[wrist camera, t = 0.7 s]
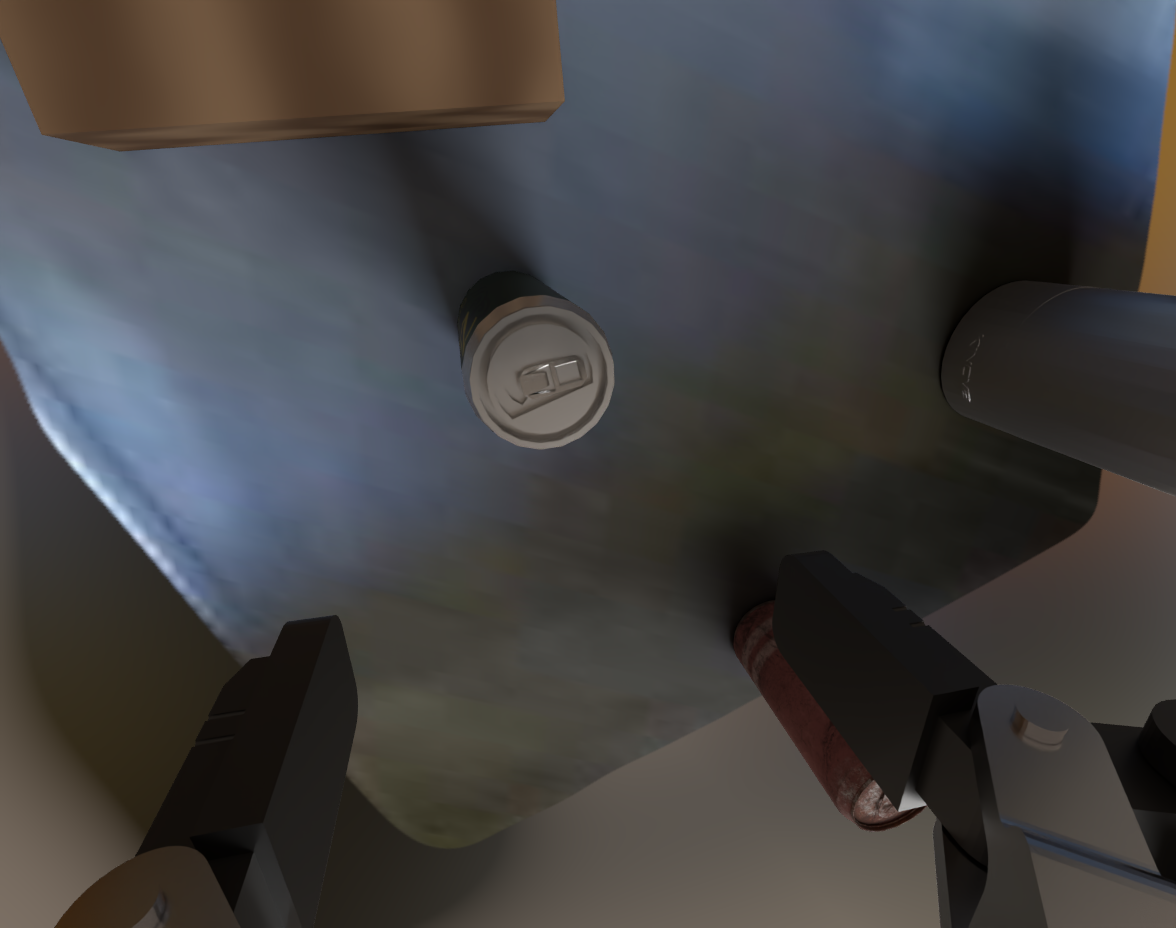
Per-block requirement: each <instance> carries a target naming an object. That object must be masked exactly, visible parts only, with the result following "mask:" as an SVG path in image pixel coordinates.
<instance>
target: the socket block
mask: <svg viewBox="0 0 1176 928" xmlns="http://www.w3.org/2000/svg"><path fill="white" fill-rule="evenodd" d="M0 38H1V40H2V43H3V45H4V47H5V50H6V52H7V54H8V57H9V59H10V61H11V64H12V66H13V69H14V71H15V73H16V76H17V78H18V80H19V83H20V85H21V87H22V90H23V92H24V94H25V97H26V99H27V101H28V104H29V106H30V108H31V111H32V113H33V115H34V118H35V120H36V122H37V125H38V127H39V129H40V132H41V134H42V135H46V136H51V137H55V138H60V139H65V140H69V141H74V142H79V143H83V144H88V145H93V146H97V147H102V148H107V149H111V150H116V151H132V150H146V149H160V148H175V147H189V146H203V145H218V144H232V143H246V142H261V141H275V140H289V139H304V138H318V137H332V136H347V135H361V134H375V133H390V132H404V131H418V130H433V129H447V128H461V127H476V126H490V125H504V124H519V123H533V122H545V121H546V120H547V119H548V118H549V117H550V116H551V115H552V114H553V113H554V112H555V111H556V110H557V109H558V108H559V107H560V106H561V105H562V103H563V102H564V101H565V99H564V88H563V76H562V65H561V54H560V43H559V32H558V21H557V10H556V0H0Z"/></svg>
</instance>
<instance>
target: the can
mask: <svg viewBox="0 0 1176 928" xmlns="http://www.w3.org/2000/svg"><path fill="white" fill-rule="evenodd" d="M774 604H775V600H772V601H767V602H764V603H761V604H759V605H757V606H755V607H754V608H752V609H751V610H750V611H749V612H747V613H746V614H745V615H744V617H743V618H742V619H741V620H740V622H739V623H738V626H737V628H736V630H735V635H734V650H735V653H736V656H737V658H738V659H739V661H740V662H741V664H742V665H743V667H744V668H745V670H746V671H747V673H748V674H749V676H750V677H751V679H752V680H753V682H754V683H755V685H756V686H757V688H758V689H759V691H760V692H761V694H762V695H763V697H764V698H765V700H766V701H767V703H768V704H769V706H770V708H771V709H772V710H773V712H774V713H775V715H776V717H777V718H778V720H779V721H780V723H781V724H782V726H783V727H784V729H785V730H786V732H787V733H788V735H789V736H790V738H791V739H792V741H793V742H794V743H795V745H796V747H797V748H798V750H799V751H800V753H801V754H802V756H803V757H804V759H805V760H806V762H807V763H808V765H809V766H810V768H811V770H812V771H813V772H814V774H815V776H816V777H817V779H818V780H819V782H820V783H821V784H822V786H823V788H824V789H825V791H826V792H827V794H828V795H829V796H830V798H831V800H832V801H833V803H834V804H835V806H836V807H837V809H838V810H839V812H840V813H842V814H843V815H844V816H845V817H846V818H847V819H849V820H851V821H852V822H854V823H855V824H856V825H857V826H859V828H860V829H862V830H866V831H870V832H876V831H885V830H888V829H892V828H895V827H898V826H900V825H902V824H904V823H906V822H908V821H910V820H911V819H912V818H914V817H915V816H916V815H917V814H919V813H921V812H922V811H923V810H924V809H925V808H926V807H927V805H926V806H922V807H917V808H913V809H909V810H905V811H900V812H898V811H897V810H896V809H895V807H894V806H893V805H892V803H891V802H890V801H889V799H888V798H887V796H886V795H885V794H884V792H883V791H882V790H881V788H880V787H879V786H878V784H877V783H876V782H875V780H874V779H873V778H872V776H871V775H870V773H869V772H868V771H867V769H866V768H865V767H864V765H863V764H862V763H861V761H860V760H859V759H858V757H857V756H856V755H855V753H854V752H853V751H852V749H851V748H850V746H849V745H848V744H847V742H846V741H845V740H844V738H843V737H842V736H841V734H840V733H839V732H838V730H837V729H836V728H835V726H834V725H833V724H832V722H831V721H830V719H829V718H828V717H827V715H826V714H825V713H824V711H823V710H822V709H821V707H820V706H819V705H818V703H817V702H816V701H815V699H814V698H813V696H812V695H811V694H810V692H809V691H808V690H807V688H806V687H805V686H804V684H803V683H802V682H801V680H800V679H799V678H798V676H797V675H796V674H795V672H794V671H793V669H792V668H791V667H790V665H789V664H788V663H787V661H786V660H785V659H784V657H783V656H782V654H781V653H780V651H779V649H778V647H777V645H776V642H775V639H774V635H773V629H772V618H773V611H774Z"/></svg>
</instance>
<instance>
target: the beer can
mask: <svg viewBox="0 0 1176 928" xmlns="http://www.w3.org/2000/svg"><path fill="white" fill-rule="evenodd" d="M457 323H458V334H459V346H460V358H461V370H462V377H463V383H464V389H465V395H466V397H467V399H468V401H469V403H470V405H471V407H472V408H473V410H474V412H475V414H476V416H477V417H478V418H479V419H480V420H481V421H482V422H483V423H484V424H485V425H486V426H487V427H488V428H490V429H491V430H492V431H493V432H495V433H496V434H497V435H498V436H499V437H501V438H503V439H505V440H507V441H509V442H511V443H513V444H515V445H517V446H522V447H528V448H534V449H546V448H553V447H560V446H563V445H565V444H567V443H569V442H572V441H574V440H576V439H578V438H580V437H582V436H583V435H584V434H585V433H586V432H587V431H589V430H590V429H591V428H592V427H593V426H594V425H595V424H597V422H598V421H599V419H600V418H601V416H602V415H603V413H604V411H605V410H606V408H607V407H608V405H609V402H610V398H611V394H612V391H613V387H614V363H613V359H612V352H611V349H610V347H609V344H608V341H607V339H606V336H605V333H604V331H603V330H602V329H601V328H600V326H599V325H598V324H597V323H596V321H595V320H594V319H593V318H592V317H591V315H590V314H589V313H587V312H586V311H584V310H583V309H581V308H580V307H578V306H577V305H575V304H574V303H572V302H571V301H569V300H568V299H566V298H565V297H563V296H562V295H560V294H559V293H557V292H556V291H554V290H552V289H551V288H549V287H548V286H546V285H545V284H543V283H542V282H540V281H539V280H537V279H535V278H534V277H532V276H531V275H528V274H524V273H520V272H516V271H504V272H495V273H493V274H491V275H489V276H486V277H484V278H482V279H480V280H479V281H478V282H477V283H476V284H475V285H474V286H473V287H472V288H471V289H469V290H468V292H467V294H466V296H465V298H464V300H463V301H462V303H461V305H460V310H459V316H458V322H457Z"/></svg>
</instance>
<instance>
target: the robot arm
mask: <svg viewBox="0 0 1176 928" xmlns="http://www.w3.org/2000/svg"><path fill="white" fill-rule="evenodd" d="M941 380H942V389H943V392H944V395H945V397H946V400H947V402H948V403H949V404H950V406H951V407H952V408H953V409H954V410H955V411H957V412H958V413H959V414H961V415H963V416H965V417H968V418H971V419H973V420H976V421H978V422H981V423H984V424H986V425H989V426H992V427H994V428H997V429H999V430H1002V431H1005V432H1007V433H1010V434H1012V435H1015V436H1017V437H1020V438H1022V439H1025V440H1028V441H1030V442H1033V443H1035V444H1038V445H1041V446H1043V447H1046V448H1049V449H1051V450H1054V451H1057V452H1059V453H1062V454H1065V455H1067V456H1070V457H1073V458H1075V459H1078V460H1080V461H1083V462H1086V463H1088V464H1091V465H1094V466H1096V467H1099V468H1102V469H1104V470H1107V471H1110V472H1112V473H1115V474H1117V475H1120V476H1123V477H1125V478H1128V479H1131V480H1133V481H1136V482H1139V483H1141V484H1144V485H1147V486H1149V487H1152V488H1155V489H1157V490H1160V491H1162V492H1165V493H1168V494H1170V495H1173V496H1176V296H1172V295H1162V294H1152V293H1143V292H1133V291H1123V290H1114V289H1104V288H1095V287H1087V286H1077V285H1067V284H1057V283H1046V282H1036V281H1026V280H1024V281H1016V282H1011V283H1008V284H1005V285H1003V286H1000V287H998V288H996V289H995V290H993V291H991V292H990V293H988V294H986V295H985V296H984V297H983V298H981V299H980V300H979V301H978V302H977V303H976V304H974V305H973V306H972V307H971V309H970V310H969V311H968V312H967V313H966V314H965V316H964V317H963V318H962V319H961V321H960V322H959V324H958V326H957V327H956V329H955V330H954V332H953V334H952V336H951V338H950V341H949V343H948V345H947V347H946V351H945V354H944V358H943V362H942V372H941ZM772 629H773V635H774V639H775V642H776V645H777V647H778V649H779V651H780V653H781V654H782V656H783V657H784V659H785V660H786V661H787V663H788V664H789V665H790V667H791V668H792V669H793V671H794V672H795V674H796V675H797V676H798V678H799V679H800V680H801V682H802V683H803V684H804V686H805V687H806V688H807V690H808V691H809V692H810V694H811V695H812V696H813V698H814V699H815V701H816V702H817V703H818V705H819V706H820V707H821V709H822V710H823V711H824V713H825V714H826V715H827V717H828V718H829V719H830V721H831V722H832V724H833V725H834V726H835V728H836V729H837V730H838V732H839V733H840V734H841V736H842V737H843V738H844V740H845V741H846V742H847V744H848V745H849V746H850V748H851V749H852V751H853V752H854V753H855V755H856V756H857V757H858V759H859V760H860V761H861V763H862V764H863V765H864V767H865V768H866V769H867V771H868V772H869V773H870V775H871V776H872V778H873V779H874V780H875V782H876V783H877V784H878V786H879V787H880V788H881V790H882V791H883V792H884V794H885V795H886V796H887V798H888V799H889V801H890V802H891V803H892V805H893V806H894V807H895V809H896V810H897V811H898V812H900V811H905V810H909V809H913V808H917V807H922V806H926V805H927V806H928V807H929V808H930V809H931V811H932V812H933V813H934V814H935V816H936V817H937V818H936V821H935V824H934V827H933V843H934V855H935V868H936V880H937V892H938V903H939V916H940V927H941V928H1176V700H1166V701H1161V702H1160V703H1158V704H1156V705H1155V707H1154V708H1153V709H1152V711H1151V713H1150V715H1149V717H1148V719H1147V721H1146V723H1145V725H1144V727H1143V728H1142V727H1131V726H1122V725H1110V724H1101V723H1090V722H1089V721H1088V720H1087V719H1086V718H1084V717H1083V716H1082V715H1081V714H1079V713H1078V712H1077V711H1075V710H1074V709H1072V708H1071V707H1070V706H1068V705H1066V704H1065V703H1063V702H1061V701H1060V700H1058V699H1056V698H1054V697H1051V696H1049V695H1047V694H1045V693H1042V692H1039V691H1037V690H1034V689H1030V688H1027V687H1022V686H1018V685H1009V684H1004V685H1002V684H1001V685H997V684H996V683H995V682H994V681H993V680H992V679H990V678H989V677H988V676H987V675H986V674H985V673H983V672H982V671H981V670H980V669H979V668H978V667H976V666H975V665H974V664H973V663H972V662H971V661H970V660H968V659H967V658H966V657H965V656H964V655H963V654H961V653H960V652H959V651H958V650H957V649H956V648H954V647H953V646H952V645H951V644H949V642H947V641H946V640H945V639H944V638H943V637H942V636H941V635H939V634H938V633H937V632H936V631H935V630H933V629H932V628H931V627H930V626H929V625H928V626H925V624H924V621H923V620H922V619H921V618H920V617H918V616H917V615H916V614H915V613H914V612H913V611H911V610H907V609H906V605H905V604H903V603H902V602H901V601H900V600H899V599H898V598H896V597H895V596H894V595H893V594H892V593H891V592H889V591H888V590H887V589H886V588H885V587H883V586H881V585H879V584H877V583H875V582H873V581H871V580H869V579H868V578H866V577H864V576H862V575H860V574H858V573H852V572H851V571H850V570H848V569H847V568H846V567H845V566H844V565H843V564H842V563H841V562H840V561H838V560H837V559H836V558H835V557H834V556H833V555H832V554H830V553H829V552H827V551H824V550H823V551H815V552H807V553H800V554H793V555H787V556H785V557H784V558H783V559H782V561H781V564H780V569H779V576H778V583H777V590H776V597H775V604H774V611H773V618H772ZM357 714H358V696H357V687H356V682H355V678H354V674H353V669H352V665H351V661H350V657H349V653H348V648H347V644H346V640H345V636H344V632H343V628H342V624H341V621H340V619H339V617H338V616H336V615H333V616H326V617H318V618H311V619H303V620H296V621H289V622H287V623H286V624H285V625H284V626H283V628H282V630H281V633H280V635H279V637H278V639H277V642H276V644H275V646H274V648H273V651H272V653H271V655H270V656H268V657H262V658H255V659H250V660H249V661H248V662H247V663H246V664H245V665H244V666H243V667H242V668H241V669H240V670H239V671H238V672H237V673H236V674H235V675H234V676H233V677H232V678H231V679H230V680H229V681H228V682H227V683H226V684H225V685H224V686H223V688H222V690H221V692H220V694H219V696H218V698H217V700H216V702H215V704H214V706H213V707H212V709H211V711H210V713H209V719H208V721H205V723H204V725H203V727H202V729H201V731H200V733H199V734H198V736H197V738H196V745H195V747H192V748H191V750H190V752H189V754H188V756H187V758H186V760H185V762H184V764H183V765H182V768H181V769H180V771H179V773H178V775H177V777H176V779H175V781H174V783H173V785H172V787H171V789H170V790H169V793H168V794H167V796H166V798H165V800H164V802H163V804H162V806H161V808H160V810H159V812H158V814H157V816H156V818H155V819H154V821H153V824H152V825H151V827H150V829H149V831H148V833H147V835H146V837H145V839H144V841H143V843H142V845H141V847H140V849H139V850H138V852H137V854H136V855H135V857H134V858H132V859H130V860H128V861H126V862H124V863H123V864H121V865H119V866H117V867H116V868H114V869H113V870H111V871H110V872H108V873H107V874H106V875H104V876H103V877H101V878H100V879H99V880H98V881H96V882H95V883H94V884H93V885H92V886H90V887H89V888H88V889H87V890H86V891H85V892H84V893H83V894H82V895H81V896H80V897H79V898H78V899H77V900H76V901H75V902H74V903H73V904H72V905H71V906H70V908H69V909H68V910H67V911H66V912H65V913H64V914H63V916H62V917H61V919H60V920H59V922H58V923H57V925H56V926H55V927H54V928H313V926H314V922H315V917H316V912H317V907H318V902H319V898H320V893H321V889H322V884H323V879H324V874H325V870H326V865H327V860H328V856H329V851H330V846H331V841H332V836H333V832H334V827H335V823H336V818H337V813H338V808H339V804H340V799H341V795H342V789H343V785H344V780H345V776H346V771H347V766H348V762H349V757H350V752H351V747H352V743H353V738H354V733H355V729H356V723H357Z"/></svg>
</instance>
